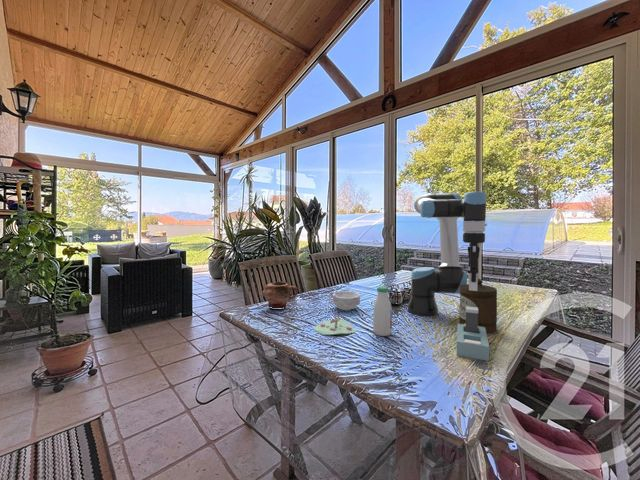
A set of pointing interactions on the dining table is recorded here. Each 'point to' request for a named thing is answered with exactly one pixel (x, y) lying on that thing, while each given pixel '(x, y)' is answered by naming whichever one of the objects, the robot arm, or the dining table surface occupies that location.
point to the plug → (471, 319)
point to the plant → (334, 327)
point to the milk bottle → (382, 313)
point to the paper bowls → (346, 300)
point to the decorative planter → (278, 294)
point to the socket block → (472, 343)
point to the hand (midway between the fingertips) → (472, 286)
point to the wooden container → (480, 305)
